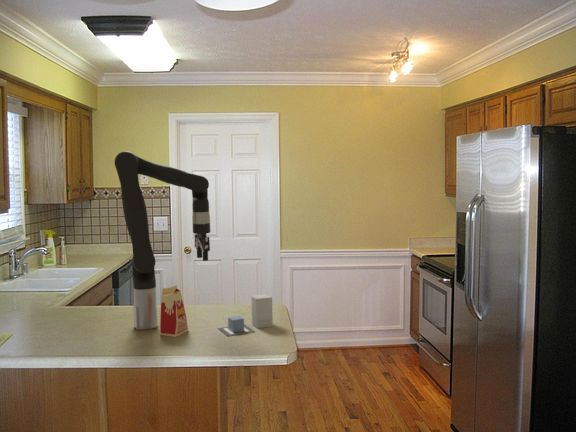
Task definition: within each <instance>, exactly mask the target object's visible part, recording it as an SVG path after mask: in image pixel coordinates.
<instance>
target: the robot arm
mask: <svg viewBox="0 0 576 432" xmlns="http://www.w3.org/2000/svg"><path fill="white" fill-rule="evenodd" d="M114 167H115V169H116V172H117V175H118V179H119V184H120V188H121V189H120V190H121V191H120V193H121V203H122V209H123V210H122V211H123V217H124V222H125V226H126V228H127V229H126V230H127V232H128V234H129V237H130V241H131V246H132V258H131V266H132V267H131V268H132V282H133V283H132V284H133V301H134V303H133V305H132V306H133V323H134V324H133V326H134V328H135V329H136V331H138V330H139V331H140V330H152V329H155V328H157V327H158V307H157V305H158V304H157V282H156V274H155V273H156V270H155V265H156V256H155V255H154V252H153V247H152V244H151V240H150V228H149V227H150V226H149V218H148V211H147V206H146V201H145V198H144V195H143V192H142V189H141V187H140V179H139V175H141V176H145V177H148V178H149V177H150V178H152V179H155V180H157V181H160V182H162V183H166V184H169V185H172V186H176V187H180V188H184V189H187V190H191V195H192V216H191V217H192V218H191V219H192V233H193V234H194V248H195V249H196V258H197V259H201V258H202V261H203V262H205V261H208V260H209V251H211V247H210V246H211V245H210V241H211V240H210V237H209V236H207V234H209V233H211V215H210V201H209V197H208V196H209V194H208V189H209V186H210V182H209V180H208V179H207V178H206V177H205V176H202V175H198V174H194V173H190V172H187V171H184V170H181V169H178V168H175V167H173V166H168V165H163V164H158V163H155V162H152V161H148V160H146V159H144V158H141V157H139V156H138V155H136V154H134V153H133V152H132V151H127V150H126V151H121V152H119V153H118V154H117V155H116V156H115V159H114Z"/></svg>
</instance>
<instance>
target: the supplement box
mask: <svg viewBox="0 0 576 432" xmlns="http://www.w3.org/2000/svg"><path fill="white" fill-rule="evenodd" d="M250 297H251V324H252V325H253V326H254V327H255V328H256V329H259V328H261V329H262V328H270V327H273V326H274V323H273V322H274V321H273V319H274V318H273V297H272V296H270V295H269V294H268V293H262V294H253V295H251V296H250Z"/></svg>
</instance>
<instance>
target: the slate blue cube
mask: <svg viewBox="0 0 576 432" xmlns="http://www.w3.org/2000/svg"><path fill="white" fill-rule="evenodd" d="M227 318H228V319H227V320H228V321H227V322H228V323H227V324H228V325H227V327H228V329H229V330H230V331H232V332H238V331H244V324H245V318H244V317H242V316H240V315H236V316H229V317H227Z"/></svg>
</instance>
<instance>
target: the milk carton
mask: <svg viewBox="0 0 576 432" xmlns="http://www.w3.org/2000/svg"><path fill="white" fill-rule="evenodd" d="M161 290H162V291H161V298H160V299H161V301H160V318H159V319H160V320H159V321H160V322H159V330H160V331H159V336H165V337H166V336H167V337H168V336H169V337H174V338H177V337H178V336H180V335H182V334H184V333H186V332H188V331H189V325H188V319H187V314H186V309H185V304H184V301H183V296H182V293H181V290H180V289H179V288H178V285H174V286H169V287H164V288H161Z"/></svg>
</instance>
